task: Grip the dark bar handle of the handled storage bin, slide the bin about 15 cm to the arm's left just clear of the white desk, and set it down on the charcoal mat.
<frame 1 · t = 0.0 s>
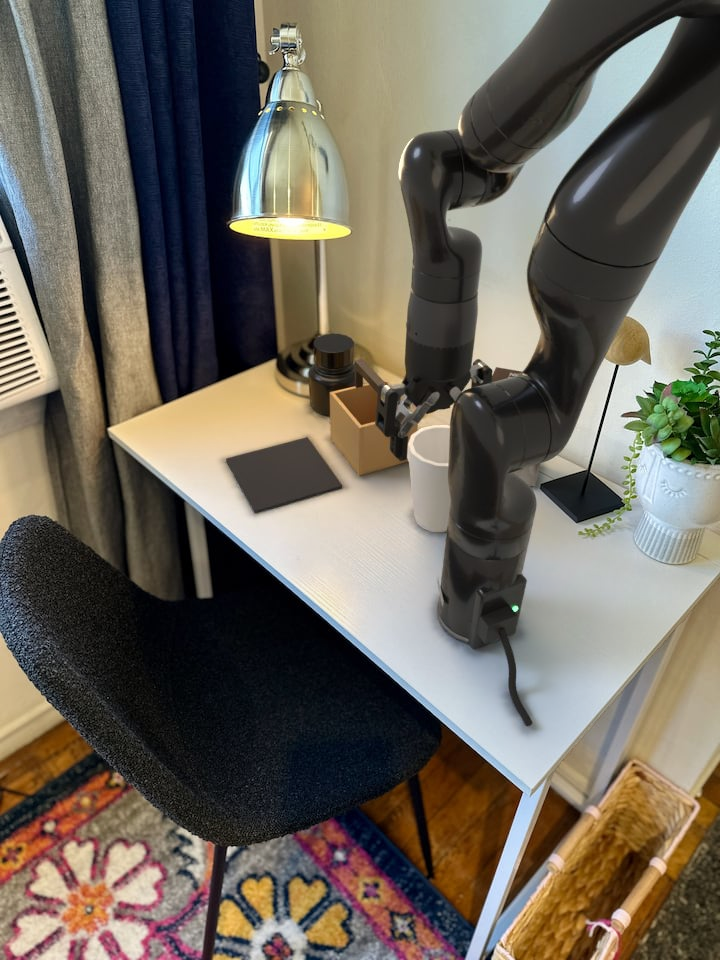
hand: (430, 448, 88), 17 cm above the table, tool pointing down, fingers open, 8 cm apart
ink bottle: (334, 404, 128), on the table
foam cup: (436, 518, 104), on the table
coffee box: (508, 470, 113), on the table
handled storage bin: (372, 448, 117), on the table
bin mat: (282, 473, 112), on the table
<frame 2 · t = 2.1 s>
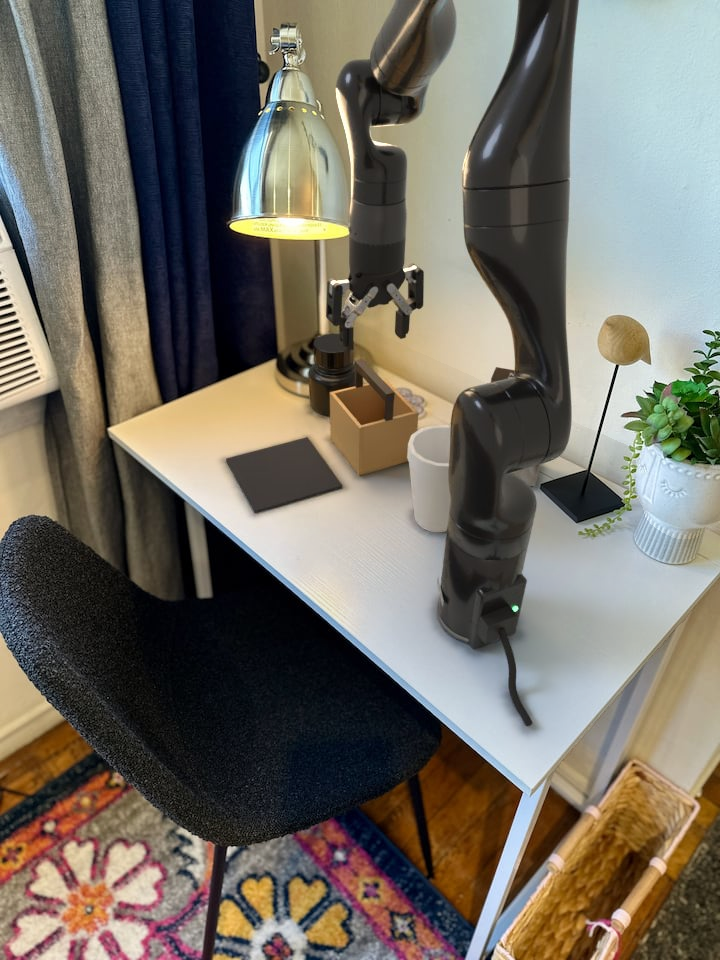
hand: (374, 341, 105), 19 cm above the table, tool pointing down, fingers open, 8 cm apart
nothing on the table moved.
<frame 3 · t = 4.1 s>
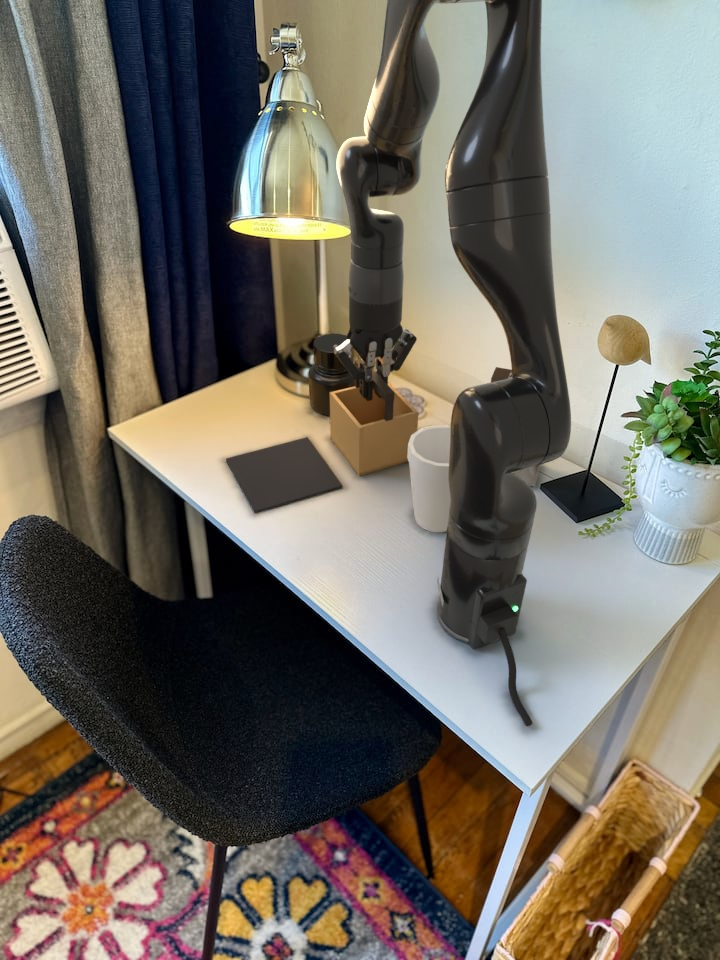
hand: (373, 396, 111), 10 cm above the table, tool pointing down, fingers closed on handled storage bin
handled storage bin: (372, 448, 117), on the table, touching gripper
everything else where it was.
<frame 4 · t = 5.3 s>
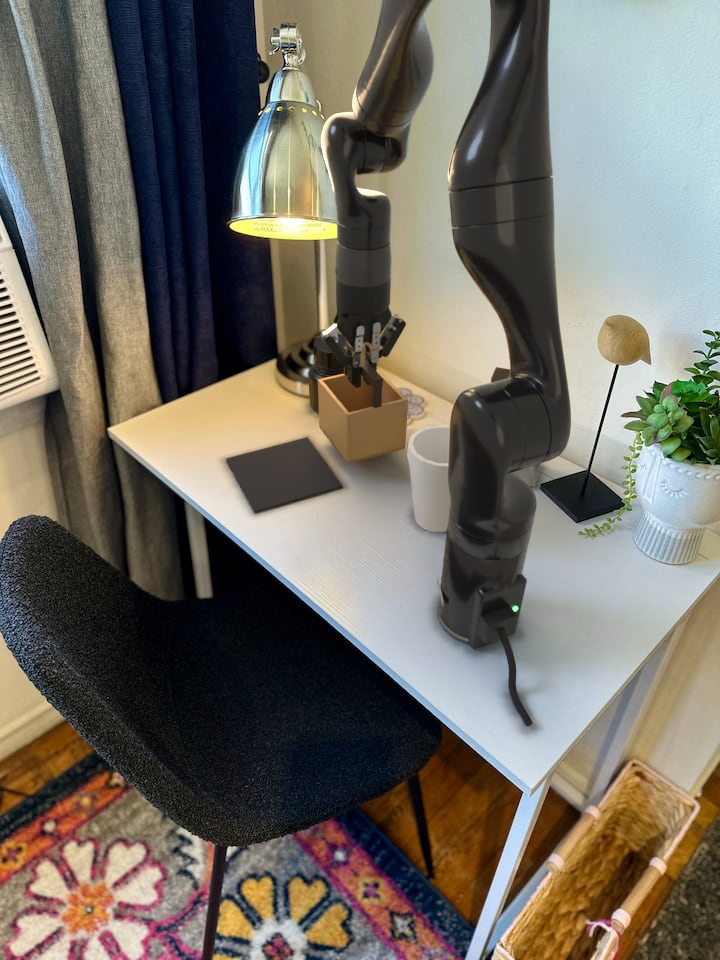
hand: (362, 383, 108), 13 cm above the table, tool pointing down, fingers closed on handled storage bin
handled storage bin: (361, 437, 115), point 3 cm above the table, touching gripper
everything else where it was.
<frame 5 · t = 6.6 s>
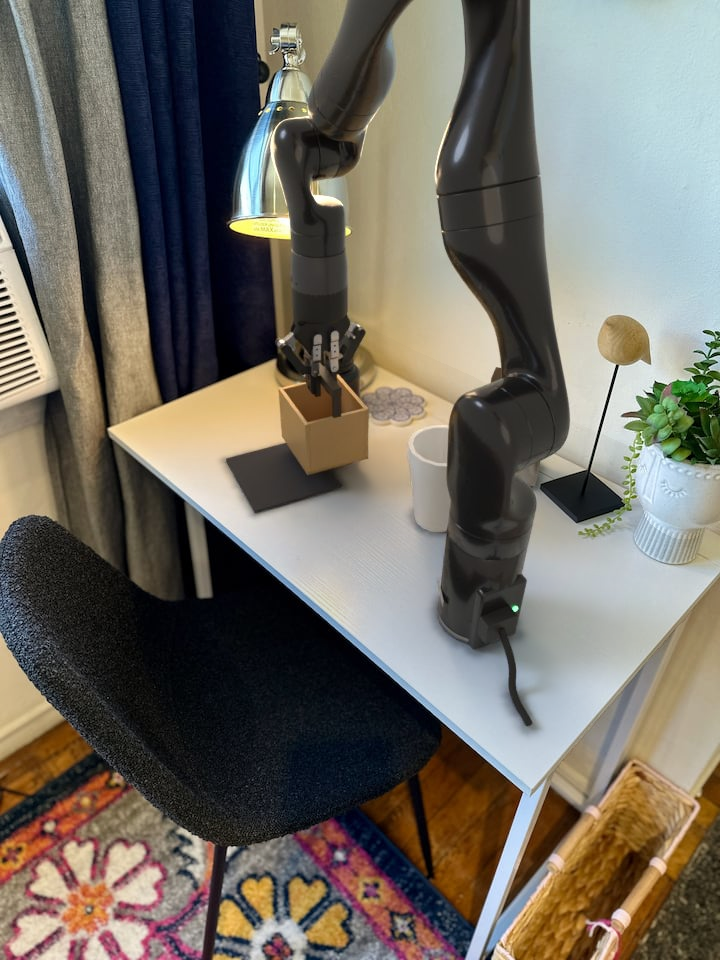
hand: (322, 392, 106), 13 cm above the table, tool pointing down, fingers closed on handled storage bin
handled storage bin: (324, 447, 113), point 3 cm above the table, touching gripper
everything else where it was.
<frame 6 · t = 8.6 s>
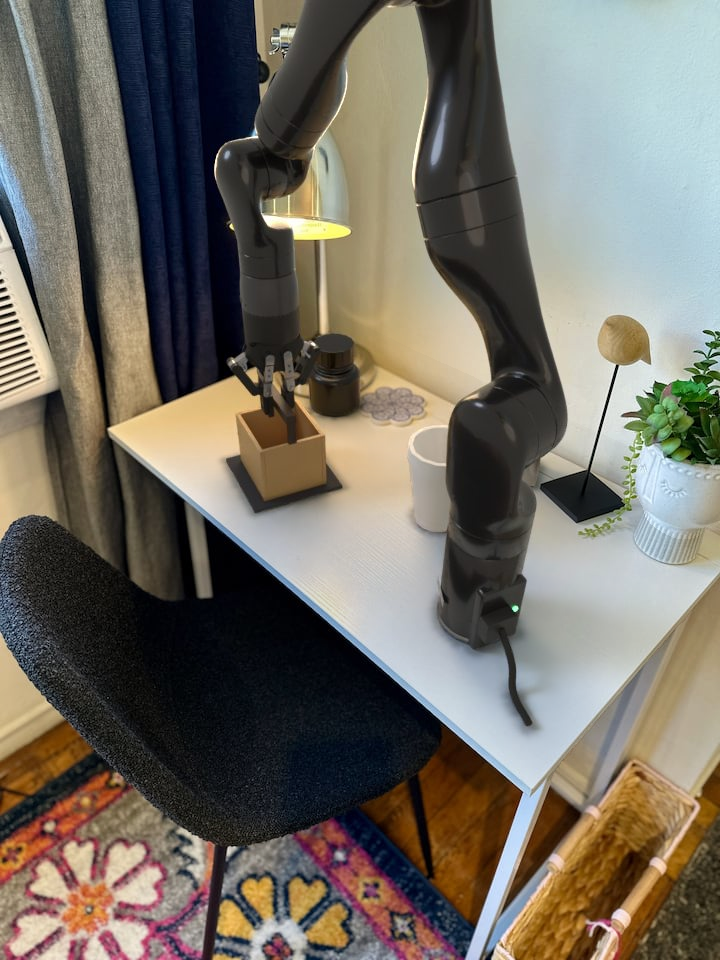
hand: (278, 412, 105), 11 cm above the table, tool pointing down, fingers closed
handled storage bin: (282, 471, 112), resting on bin mat
everything else where it was.
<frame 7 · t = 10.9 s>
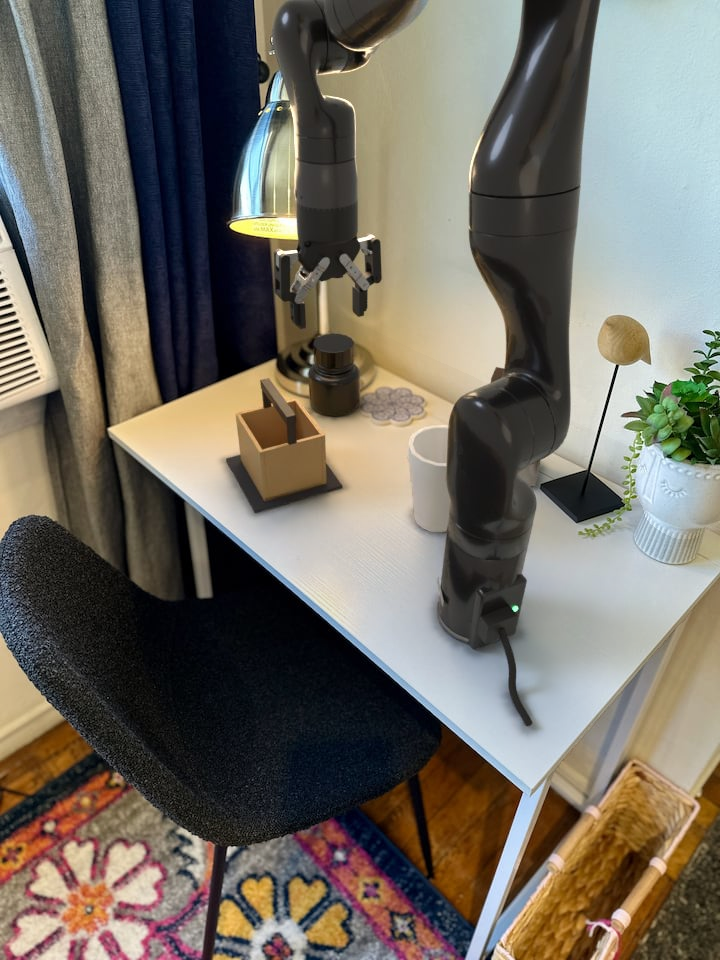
hand: (329, 320, 97), 26 cm above the table, tool pointing down, fingers open, 8 cm apart
nothing on the table moved.
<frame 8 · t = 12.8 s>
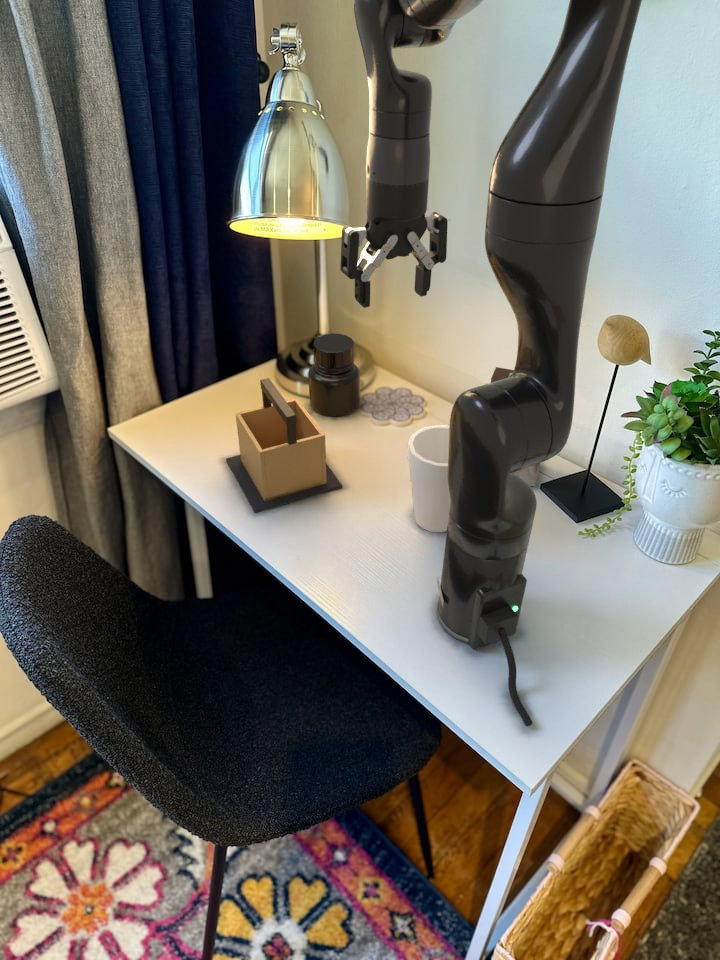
hand: (392, 299, 96), 28 cm above the table, tool pointing down, fingers open, 8 cm apart
nothing on the table moved.
at the end: handled storage bin 0.1 cm off-centre on the bin mat, point 0.4 cm above the bin mat's base; handled storage bin tilted 0°; the gripper is holding nothing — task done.
